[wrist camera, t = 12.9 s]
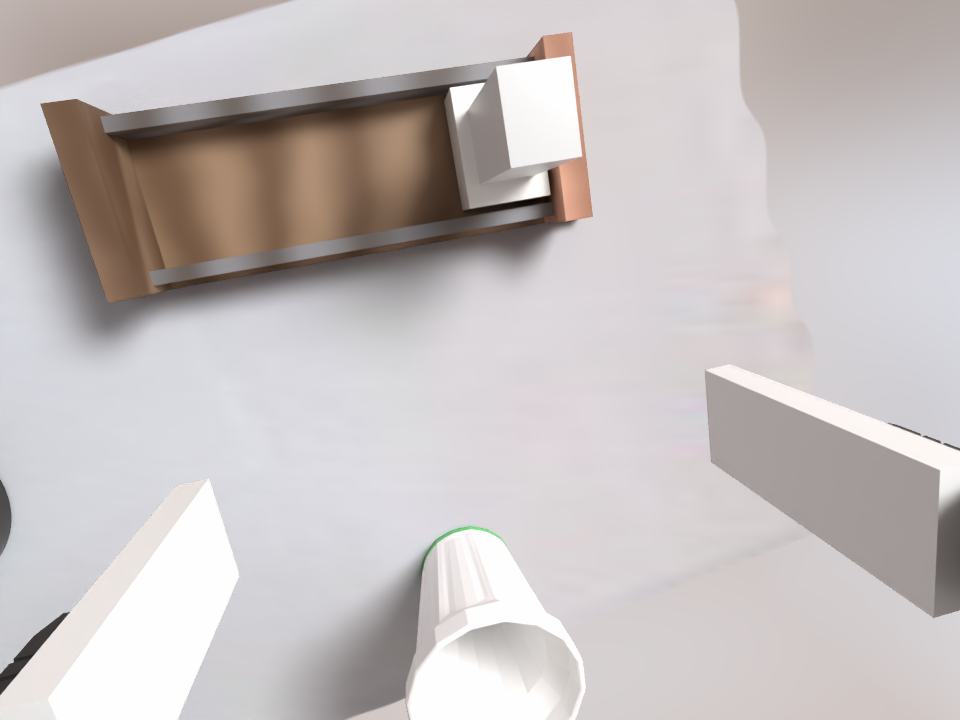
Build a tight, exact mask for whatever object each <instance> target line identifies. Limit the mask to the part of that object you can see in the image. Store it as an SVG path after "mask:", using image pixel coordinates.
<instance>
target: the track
mask: <svg viewBox="0 0 960 720" xmlns="http://www.w3.org/2000/svg"><path fill="white" fill-rule="evenodd" d="M566 56H571V62H572V71H573V80H574V89H575V97H576V106H577V115H578V123H579V132H580V141H581V150H582V157H580V158H577V159H575V160H572V161H570V162H567V163H565V164H562V165H560V166H557V167H555V168H552V169H550V170H548V178H549V186H550V193H551V195H548V196H544V197H540V198H535V199H530V200H524V201H518V202H512V203H506V204H500V205H494V206H489V207H483V208H477V209H471V210H465V211H463V210H462V204H461V199H460V193H459V187H458V181H457V175H456V169H455V163H454V157H453V151H452V146H451V140H450V134H449V128H448V122H447V116H446V110H445V104H444V100H445V98H446V96H447V93H448V91H449V89H450V88H451V87H458V86H465V85H472V84H479V83H486V81H487V79H488V78H489V76H490V75H491V73H492V72H493V70H494V69H495V67H496V66H502V65H509V64H516V63H523V62H530V61H537V60H544V59H552V58H559V57H566ZM41 107H42V110H43V113H44V116H45V119H46V122H47V125H48V128H49V131H50V134H51V137H52V140H53V143H54V145H55V148H56V151H57V154H58V157H59V160H60V163H61V166H62V169H63V172H64V175H65V178H66V181H67V184H68V187H69V190H70V193H71V196H72V199H73V202H74V204H75V207H76V210H77V213H78V216H79V219H80V222H81V225H82V228H83V231H84V234H85V237H86V240H87V243H88V246H89V249H90V252H91V255H92V258H93V261H94V264H95V266H96V269H97V272H98V275H99V278H100V281H101V284H102V287H103V290H104V293H105V296H106V299H107V302H108V303H109V302H115V301H120V300H126V299H132V298H137V297H142V296H146V295H150V294H154V293H158V292H162V291H166V290H170V289H174V288H180V287H186V286H191V285H197V284H203V283H208V282H214V281H220V280H225V279H231V278H237V277H242V276H248V275H254V274H259V273H265V272H270V271H276V270H282V269H287V268H293V267H299V266H304V265H310V264H316V263H321V262H327V261H333V260H338V259H344V258H350V257H355V256H361V255H366V254H372V253H378V252H383V251H389V250H395V249H400V248H406V247H412V246H417V245H423V244H429V243H434V242H440V241H446V240H451V239H457V238H462V237H468V236H474V235H479V234H485V233H491V232H496V231H502V230H508V229H513V228H519V227H525V226H530V225H536V224H542V223H551V222H564V221H571V220H577V219H582V218H588V217H593V215H592V206H591V197H590V188H589V179H588V171H587V162H586V153H585V144H584V135H583V126H582V117H581V109H580V100H579V91H578V82H577V73H576V64H575V55H574V47H573V38H572V32H570V33H563V34H555V35H548V36H543V37H542V38H541V39H540V41H539V42H538V43H537V44H536V46H535V47H534V48H533V49H532V51H531V52H530V53H529V54H528V56H527V57H525V58H518V59H511V60H504V61H496V62H489V63H482V64H475V65H468V66H460V67H453V68H446V69H439V70H432V71H424V72H417V73H410V74H403V75H396V76H388V77H381V78H374V79H367V80H360V81H352V82H345V83H338V84H331V85H324V86H316V87H309V88H302V89H295V90H288V91H280V92H273V93H266V94H259V95H252V96H244V97H237V98H230V99H223V100H216V101H208V102H201V103H194V104H187V105H180V106H173V107H165V108H158V109H151V110H144V111H137V112H129V113H122V114H115V115H112V114H110V113H107V112H105V111H103V110H100V109H98V108H96V107H93V106H91V105H89V104H87V103H84V102H82V101H80V100H77V99H72V100H65V101H57V102H50V103H43V104H41Z"/></svg>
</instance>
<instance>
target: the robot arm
mask: <svg viewBox="0 0 960 720" xmlns="http://www.w3.org/2000/svg"><path fill="white" fill-rule="evenodd" d="M705 381H706V396H707V410H708V425H709V439H710V454H711V462H712V463H713V464H715V465H716V466H718V467H719V468H721V469H722V470H723V471H725V472H726V473H728V474H729V475H731V476H732V477H733V478H735V479H736V480H738V481H739V482H741V483H742V484H743V485H745V486H746V487H748V488H749V489H750V490H752V491H753V492H755V493H756V494H758V495H759V496H760V497H762V498H763V499H765V500H766V501H768V502H769V503H770V504H772V505H773V506H775V507H776V508H778V509H779V510H780V511H782V512H783V513H785V514H786V515H788V516H789V517H790V518H792V519H793V520H795V521H796V522H798V523H799V524H800V525H802V526H803V527H805V528H806V529H808V530H809V531H810V532H812V533H813V534H815V535H816V536H818V537H819V538H820V539H822V540H823V541H825V542H826V543H828V544H829V545H831V546H832V547H833V548H835V549H836V550H838V551H839V552H840V553H842V554H843V555H845V556H846V557H848V558H849V559H851V560H852V561H853V562H855V563H856V564H857V565H859V566H860V567H862V568H863V569H865V570H866V571H867V572H869V573H870V574H872V575H873V576H875V577H876V578H877V579H879V580H880V581H882V582H883V583H885V584H886V585H888V586H889V587H890V588H892V589H893V590H895V591H896V592H897V593H899V594H900V595H902V596H903V597H905V598H906V599H908V600H909V601H910V602H912V603H913V604H915V605H916V606H917V607H919V608H920V609H922V610H923V611H925V612H926V613H927V614H929V615H930V616H932V617H933V618H935V617H938V616H941V615H945V614H948V613H952V612H955V611H959V610H960V448H957V447H954V446H951V445H949V444H946V443H944V444H941V442H940V441H938V440H936V439H933V438H930V437H928V436H921V434H920V433H917V432H914V431H912V430H909V429H906V428H903V427H901V426H898V425H895V424H890V423H885V422H882V421H879V420H876V419H874V418H871V417H868V416H866V415H863V414H860V413H858V412H855V411H852V410H850V409H847V408H845V407H842V406H839V405H837V404H834V403H831V402H829V401H826V400H823V399H821V398H818V397H816V396H813V395H810V394H808V393H805V392H802V391H800V390H797V389H794V388H792V387H789V386H786V385H784V384H781V383H778V382H776V381H773V380H771V379H768V378H765V377H763V376H760V375H757V374H755V373H752V372H749V371H747V370H744V369H741V368H739V367H736V366H733V365H731V364H730V365H725V366H721V367H716V368H712V369H707V370H705ZM10 528H11V509H10V503H9V499H8V496H7V493H6V490H5V488H4V486H3V484H2V482H1V480H0V555H1V553H2V552H3V550H4V548H5V545H6V543H7V540H8V537H9V533H10ZM239 576H240V575H239V572H238V568H237V565H236V562H235V559H234V556H233V553H232V550H231V546H230V543H229V540H228V537H227V534H226V531H225V528H224V525H223V521H222V518H221V515H220V512H219V509H218V506H217V503H216V499H215V496H214V493H213V490H212V487H211V484H210V481H209V478H208V479H204V480H199V481H195V482H190V483H185V484H181V485H176V486H175V488H174V489H173V490H172V491H171V492H170V494H169V495H168V496H167V497H166V498H165V500H164V501H163V502H162V503H161V504H160V506H159V507H158V508H157V509H156V510H155V511H154V513H153V514H152V515H151V516H150V517H149V519H148V520H147V521H146V522H145V523H144V525H143V526H142V527H141V528H140V529H139V531H138V532H137V533H136V534H135V535H134V537H133V538H132V539H131V540H130V541H129V542H128V544H127V545H126V546H125V547H124V548H123V550H122V551H121V552H120V553H119V554H118V556H117V557H116V558H115V559H114V560H113V562H112V563H111V564H110V565H109V566H108V568H107V569H106V570H105V571H104V572H103V574H102V575H101V576H100V577H99V578H98V579H97V581H96V582H95V583H94V584H93V585H92V587H91V588H90V589H89V590H88V591H87V593H86V594H85V595H84V596H83V597H82V599H81V600H80V601H79V602H78V603H77V605H76V606H75V607H74V608H73V609H72V610H71V612H68V613H63V614H62V615H61V616H59V617H58V618H57V619H55V620H54V621H53V622H52V623H50V624H49V625H48V626H46V627H45V628H44V629H42V630H41V631H40V632H39V633H37V634H36V635H35V636H34V637H33V638H32V639H31V640H30V641H29V642H28V643H27V645H26V646H25V647H24V648H23V649H22V650H21V651H20V653H19V654H18V655H17V656H16V657H15V658H14V663H11V664H9V665H8V666H7V667H6V668H5V670H4V671H3V672H2V673H1V674H0V720H177V719H178V717H179V715H180V712H181V710H182V708H183V705H184V703H185V701H186V698H187V696H188V694H189V691H190V689H191V687H192V684H193V682H194V680H195V678H196V675H197V673H198V671H199V668H200V666H201V664H202V661H203V659H204V657H205V654H206V652H207V650H208V647H209V645H210V643H211V640H212V638H213V636H214V633H215V631H216V629H217V627H218V624H219V622H220V620H221V617H222V615H223V613H224V610H225V608H226V606H227V603H228V601H229V599H230V596H231V594H232V592H233V589H234V587H235V585H236V583H237V580H238V578H239Z"/></svg>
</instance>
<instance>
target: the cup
mask: <svg viewBox="0 0 960 720" xmlns="http://www.w3.org/2000/svg"><path fill="white" fill-rule="evenodd" d="M585 689H586V686H585V679H584V670H583V661H582V658H581V656H580V654H579V652H578V650H577V648H576V647H575V645H574V643H573V641H572V640H571V638H570V637H569V635H568V633H567V632H566V630H565V629H564V627H563V626H562V624H561V623H560V621H559V620H558V619H556V618H554V617H552V616H551V615H549V614H547V613H546V612H545V611H544V609H543V607H542V606H541V604H540V602H539V601H538V599H537V598H536V596H535V594H534V593H533V591H532V589H531V588H530V586H529V584H528V583H527V581H526V580H525V578H524V576H523V575H522V573H521V571H520V570H519V568H518V566H517V565H516V563H515V561H514V560H513V558H512V557H511V555H510V553H509V551H508V549H507V547H506V545H505V543H504V542H503V541H502V539H501V538H500V537H499V536H497V535H496V534H494V533H492V532H490V531H489V530H487V529H482V528H478V527H470V526H469V527H464V528H459V529H456V530H452V531H450V532H449V533H447V534H445V535H443V536H442V537H440V538H439V539H437V540H436V541H435V543H434V544H433V545H432V546H431V548H430V549H429V551H428V552H427V554H426V557H425V560H424V564H423V568H422V583H421V596H420V608H419V621H418V633H417V646H416V653H415V655H414V657H413V661H412V664H411V668H410V671H409V675H408V679H407V682H406V707H407V712H408V717H409V720H575V718H576V715H577V712H578V710H579V707H580V704H581V701H582V698H583V695H584V692H585Z"/></svg>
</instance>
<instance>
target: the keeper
mask: <svg viewBox="0 0 960 720" xmlns="http://www.w3.org/2000/svg"><path fill="white" fill-rule="evenodd" d="M444 104H445V110H446V116H447V122H448V128H449V134H450V140H451V146H452V151H453V157H454V163H455V169H456V175H457V181H458V187H459V193H460V199H461V204H462V210H463V211H465V210H471V209H477V208H483V207H489V206H494V205H500V204H506V203H512V202H518V201H524V200H530V199H535V198H540V197H544V196H548V195H551V193H550V186H549V178H548V170H550V169H552V168H555V167H557V166H560V165H562V164H565V163H567V162H570V161H572V160H575V159H577V158H580V157H582V150H581V141H580V132H579V123H578V115H577V106H576V97H575V89H574V80H573V71H572V62H571V56H566V57H559V58H552V59H544V60H537V61H530V62H523V63H516V64H509V65H502V66H496V67H495V69H494V70H493V72H492V73H491V75H490V76H489V78H488V79H487V81H486V83H479V84H472V85H465V86H458V87H451V88H450V89H449V91H448V93H447V96H446V98H445V100H444Z"/></svg>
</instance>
